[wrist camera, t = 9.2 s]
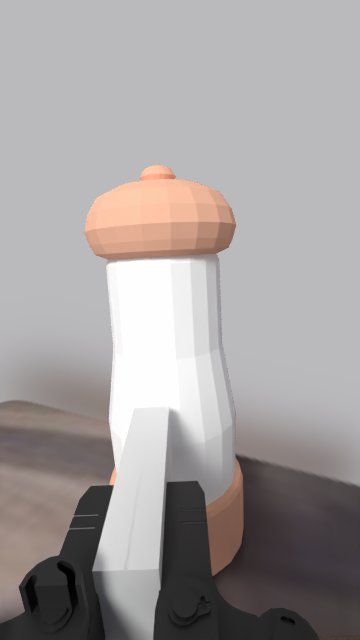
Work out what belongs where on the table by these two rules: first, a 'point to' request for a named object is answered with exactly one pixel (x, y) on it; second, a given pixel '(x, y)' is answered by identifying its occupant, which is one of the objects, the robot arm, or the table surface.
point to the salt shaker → (173, 333)
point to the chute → (341, 638)
